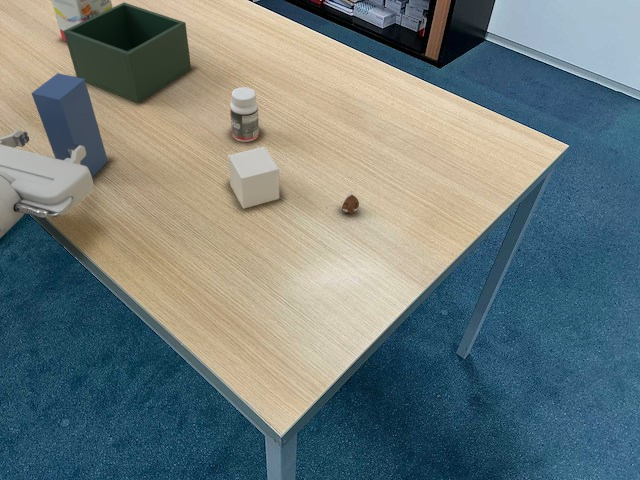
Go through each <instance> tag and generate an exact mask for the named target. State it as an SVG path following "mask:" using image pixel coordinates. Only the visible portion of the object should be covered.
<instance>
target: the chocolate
mask: <svg viewBox="0 0 640 480" xmlns="http://www.w3.org/2000/svg"><path fill="white" fill-rule="evenodd" d="M355 191H356V189H353V190H351V191H350V192H347V194H346V198H345V199H344V201H343V202H342V203H341V206H340V210H341V212H343V213H346V214H353V213H355V212H356V211H358V210H359V206H360V201H359V199H358V197H356V196H355V195H353V194H354V193H355Z"/></svg>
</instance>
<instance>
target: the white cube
mask: <svg viewBox="0 0 640 480" xmlns="http://www.w3.org/2000/svg"><path fill="white" fill-rule="evenodd" d="M227 162H228V175H229V186H230V187H231V189H232V191H233V193H234V194H235V197H236V199H237V201H238V202H239V203H240V205H241V207H242V209H243V210H244V209H247V208H251V207H255V206H259V205H262V204H265V203H269V202H273V201H276V200H280V168H279V166H278V165H277V163H276V161H275V160H274V158H273V157H272V156H271V153H269V151H268V149H267V148H266V147H265V146H262V147H257V148H252V149H249V150H244V151H240V152H235V153H231V154H228V155H227Z"/></svg>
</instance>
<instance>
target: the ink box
mask: <svg viewBox="0 0 640 480" xmlns="http://www.w3.org/2000/svg"><path fill="white" fill-rule="evenodd" d="M51 3H52V7H53V12H54V14H55V18H56V22H57V25H58V28H59V32H60V35H61V38H62V40H63V41H64V42H66V38H65V35H64V32H63V31H64V30H66V29H68V28H71V27H73V26H75V25H77V24H79V23H81V22H83V21H85V20H88V19H90V18H92V17H94V16H96V15H98V14H100V13H102V12H105V11H107V10H109V9H111V8H113V3H112V0H51Z"/></svg>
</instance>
